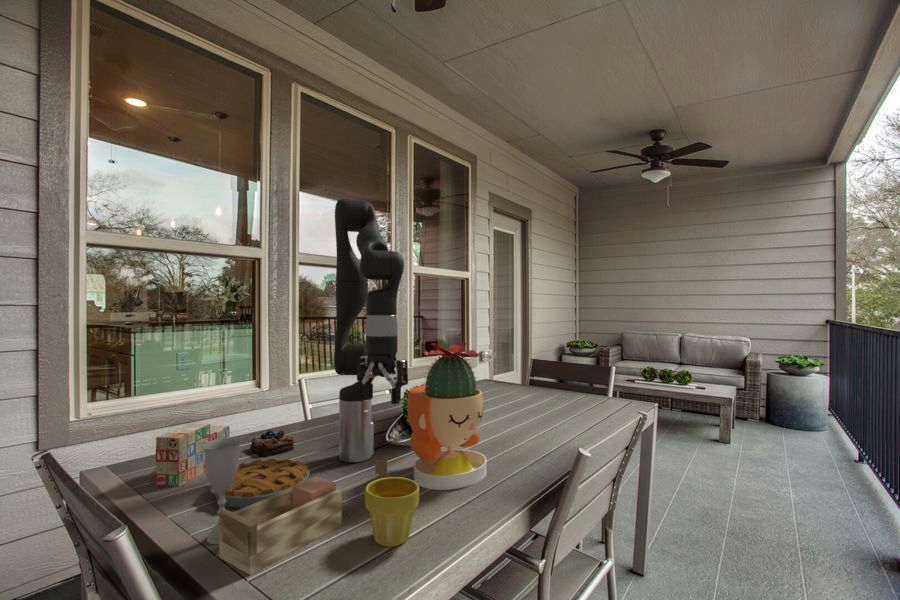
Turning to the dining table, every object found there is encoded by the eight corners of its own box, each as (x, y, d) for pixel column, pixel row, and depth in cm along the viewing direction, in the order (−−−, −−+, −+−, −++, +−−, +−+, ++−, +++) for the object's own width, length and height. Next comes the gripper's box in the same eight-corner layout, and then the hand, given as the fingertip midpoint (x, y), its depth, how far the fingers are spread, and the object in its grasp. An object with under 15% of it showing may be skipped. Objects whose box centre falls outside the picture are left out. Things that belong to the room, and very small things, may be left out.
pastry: (263, 459, 129) (263, 439, 129) (246, 450, 137) (246, 431, 137) (298, 450, 137) (298, 431, 137) (280, 442, 145) (280, 424, 145)
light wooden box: (310, 513, 95) (311, 475, 95) (341, 525, 90) (341, 485, 90) (219, 557, 79) (219, 511, 79) (250, 575, 73) (250, 526, 74)
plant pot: (420, 523, 91) (420, 475, 91) (418, 552, 80) (418, 497, 81) (369, 524, 90) (369, 476, 91) (360, 553, 80) (360, 498, 80)
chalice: (211, 528, 89) (212, 438, 89) (247, 526, 89) (247, 437, 90) (193, 548, 82) (194, 450, 82) (232, 546, 82) (232, 449, 82)
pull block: (375, 477, 110) (376, 452, 110) (394, 483, 106) (394, 457, 106) (292, 517, 89) (292, 486, 89) (311, 525, 86) (311, 493, 86)
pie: (264, 519, 93) (264, 495, 93) (187, 503, 100) (187, 481, 100) (327, 480, 113) (327, 461, 113) (259, 469, 121) (259, 451, 121)
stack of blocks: (210, 456, 131) (210, 414, 131) (230, 457, 130) (230, 415, 130) (154, 486, 110) (155, 436, 110) (178, 487, 109) (179, 436, 109)
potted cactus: (501, 471, 119) (501, 341, 120) (444, 497, 103) (444, 346, 103) (443, 452, 134) (444, 336, 134) (385, 473, 118) (386, 341, 118)
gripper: (414, 334, 106) (414, 402, 106) (370, 331, 114) (370, 395, 113) (394, 336, 99) (394, 408, 99) (349, 333, 107) (349, 400, 107)
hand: (381, 401), depth 106 cm, fingers open, 8 cm apart
